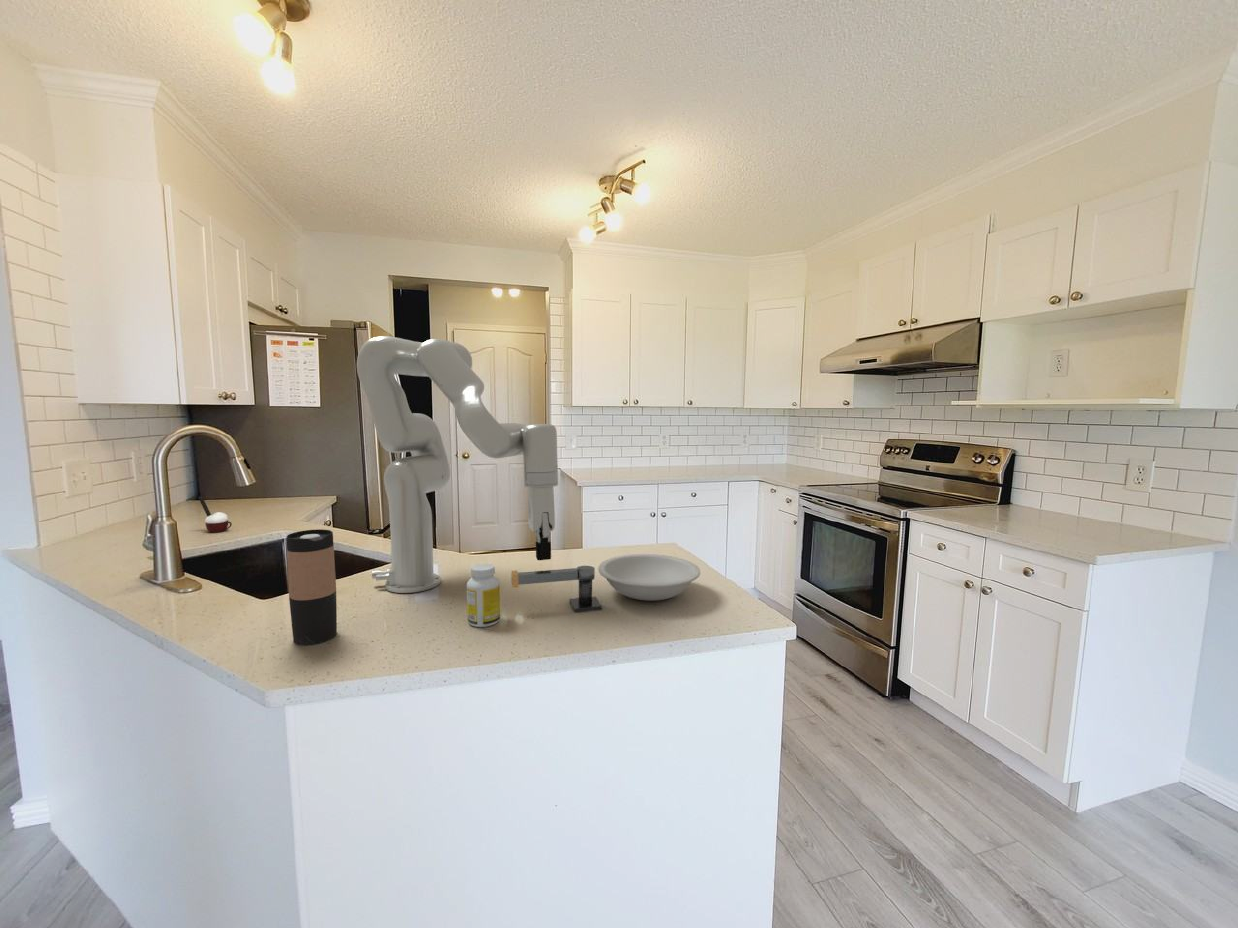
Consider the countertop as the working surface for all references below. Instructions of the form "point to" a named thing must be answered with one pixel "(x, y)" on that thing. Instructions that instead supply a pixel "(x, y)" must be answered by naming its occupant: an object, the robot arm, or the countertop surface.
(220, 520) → the cocoa
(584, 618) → the countertop surface
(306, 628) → the travel mug
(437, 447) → the robot arm
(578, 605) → the dark grey faucet base
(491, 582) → the pill bottle
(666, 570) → the round sink basin
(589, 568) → the rail
